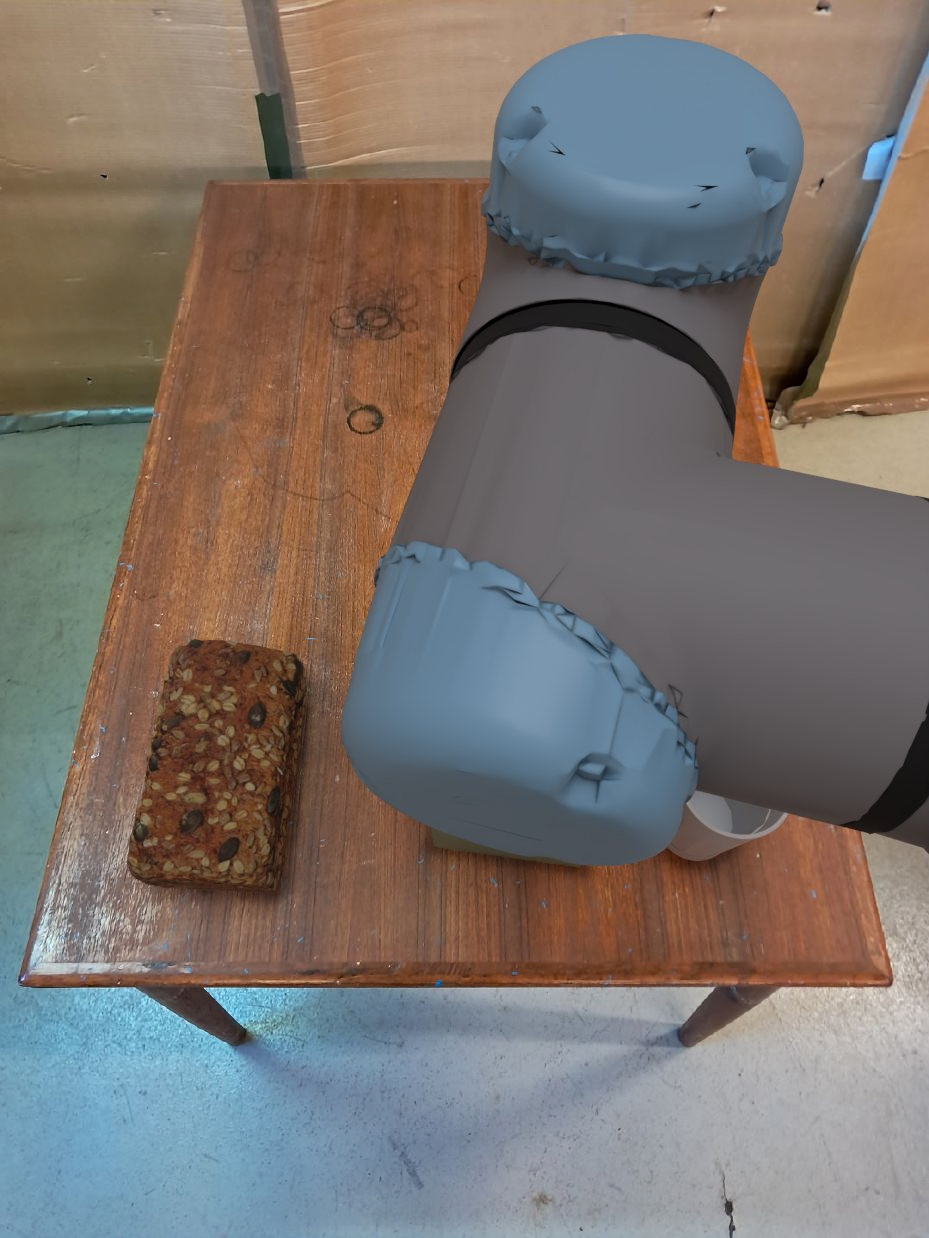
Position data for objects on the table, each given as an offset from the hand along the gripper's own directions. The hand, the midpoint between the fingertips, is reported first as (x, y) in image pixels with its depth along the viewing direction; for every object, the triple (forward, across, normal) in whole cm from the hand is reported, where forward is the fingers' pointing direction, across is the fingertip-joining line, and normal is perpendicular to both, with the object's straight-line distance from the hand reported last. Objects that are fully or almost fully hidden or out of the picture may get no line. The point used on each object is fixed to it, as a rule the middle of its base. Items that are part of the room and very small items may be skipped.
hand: (530, 707), depth 53 cm
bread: (+18, +3, -23) cm, 30 cm away
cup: (+18, +1, +15) cm, 24 cm away
